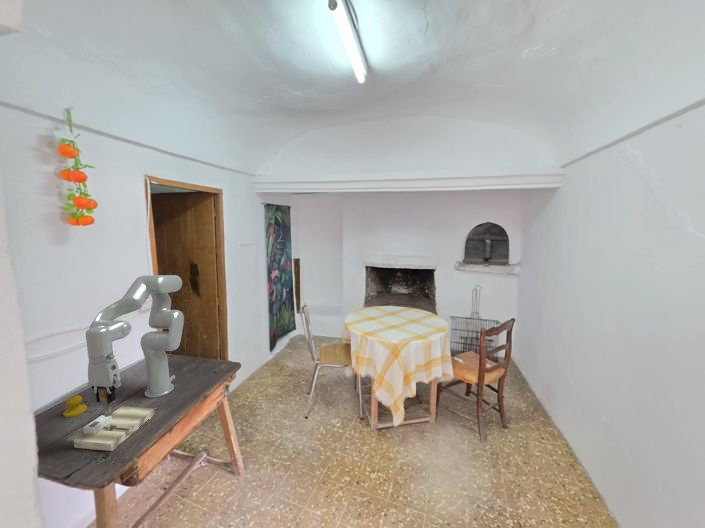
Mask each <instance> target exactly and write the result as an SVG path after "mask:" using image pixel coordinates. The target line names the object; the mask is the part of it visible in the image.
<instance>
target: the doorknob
mask: <svg viewBox="0 0 705 528" xmlns="http://www.w3.org/2000/svg"><path fill="white" fill-rule="evenodd" d="M82 401H83V397H82V395H81V396H80V395H79V394H77V395H72V396H70V397H68V398H67V399H66V401H65V405H66V406H67V407H68V408H67V409H65V411H64V412H63V417H65V418H73V417H76V416H80V415H81V414H83V413H84V412H86V411H87V409H88V406H87V405H86V404H81V403H82Z"/></svg>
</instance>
